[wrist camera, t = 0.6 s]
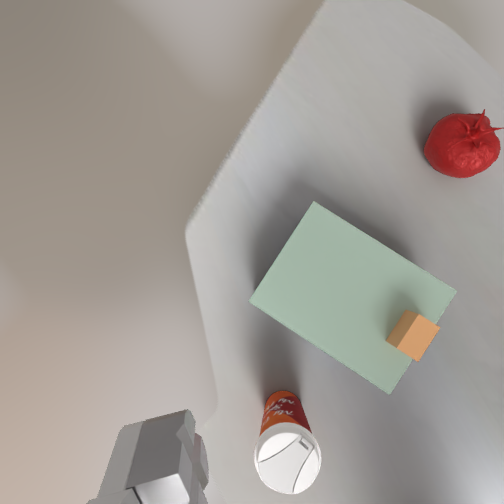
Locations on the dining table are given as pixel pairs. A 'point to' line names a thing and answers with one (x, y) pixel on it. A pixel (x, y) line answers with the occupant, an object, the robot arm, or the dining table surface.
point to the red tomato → (462, 145)
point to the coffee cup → (286, 446)
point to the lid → (353, 298)
